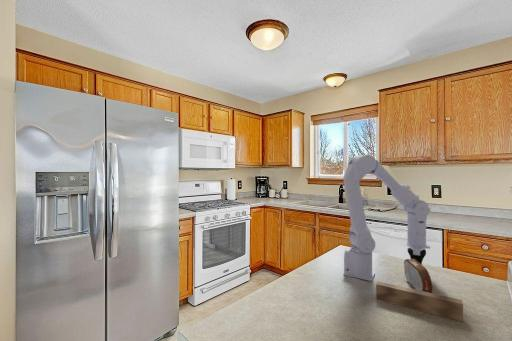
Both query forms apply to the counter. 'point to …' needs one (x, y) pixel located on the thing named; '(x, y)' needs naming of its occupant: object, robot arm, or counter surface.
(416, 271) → the tin
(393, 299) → the walnut board
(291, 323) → the counter surface
